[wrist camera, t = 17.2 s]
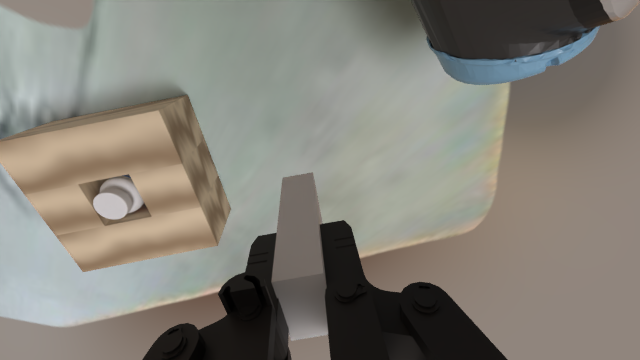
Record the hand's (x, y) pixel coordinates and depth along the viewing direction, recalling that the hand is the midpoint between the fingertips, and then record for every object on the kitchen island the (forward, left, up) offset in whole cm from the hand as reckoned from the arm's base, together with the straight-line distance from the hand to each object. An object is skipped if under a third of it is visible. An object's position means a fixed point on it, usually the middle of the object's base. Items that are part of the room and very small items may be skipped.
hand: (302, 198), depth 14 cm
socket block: (+7, -25, -32) cm, 41 cm away
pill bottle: (+8, -26, -30) cm, 40 cm away
